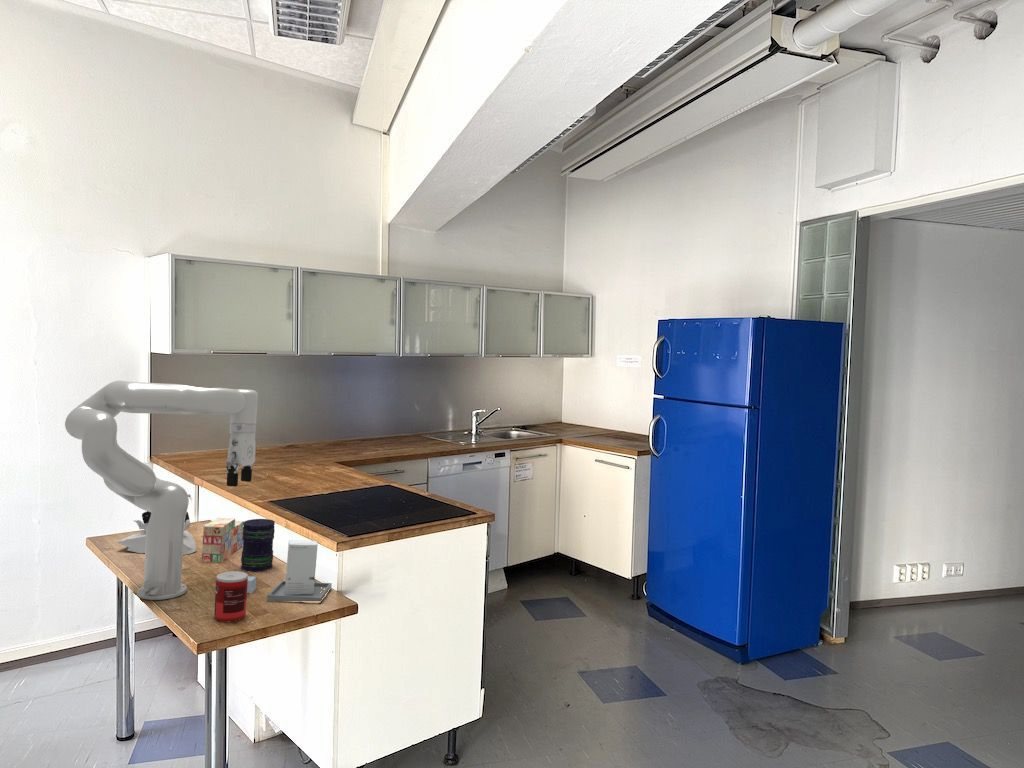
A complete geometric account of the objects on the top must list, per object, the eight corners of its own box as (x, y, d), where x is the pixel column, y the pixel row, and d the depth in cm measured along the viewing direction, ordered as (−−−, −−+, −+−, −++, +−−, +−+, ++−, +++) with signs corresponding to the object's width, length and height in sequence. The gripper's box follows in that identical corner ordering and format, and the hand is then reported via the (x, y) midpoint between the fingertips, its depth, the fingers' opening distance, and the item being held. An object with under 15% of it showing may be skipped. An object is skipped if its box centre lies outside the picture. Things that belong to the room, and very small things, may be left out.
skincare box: (284, 596, 192) (287, 544, 191) (284, 589, 197) (287, 539, 197) (315, 594, 194) (317, 543, 194) (314, 587, 200) (316, 538, 200)
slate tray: (320, 604, 189) (320, 597, 189) (266, 601, 189) (267, 595, 189) (331, 589, 202) (331, 583, 202) (281, 586, 202) (281, 580, 202)
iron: (135, 544, 237) (137, 502, 237) (203, 548, 237) (205, 506, 237) (117, 552, 226) (119, 508, 226) (188, 556, 226) (190, 512, 226)
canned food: (227, 609, 181) (229, 569, 181) (252, 614, 179) (254, 573, 179) (207, 619, 174) (209, 577, 173) (232, 624, 171) (234, 581, 171)
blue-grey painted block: (255, 589, 198) (256, 576, 198) (251, 594, 194) (251, 580, 194) (228, 588, 198) (228, 575, 198) (223, 593, 194) (223, 579, 194)
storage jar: (275, 570, 217) (278, 524, 217) (243, 573, 212) (246, 526, 212) (269, 561, 226) (271, 517, 225) (238, 564, 221) (240, 519, 220)
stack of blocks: (225, 545, 243) (227, 511, 242) (243, 546, 243) (244, 512, 243) (201, 562, 221) (203, 525, 221) (220, 563, 222) (222, 526, 221)
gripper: (242, 431, 199) (238, 489, 199) (265, 427, 216) (262, 480, 216) (217, 430, 199) (213, 487, 199) (243, 426, 217) (239, 478, 217)
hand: (239, 483), depth 208 cm, fingers open, 9 cm apart
